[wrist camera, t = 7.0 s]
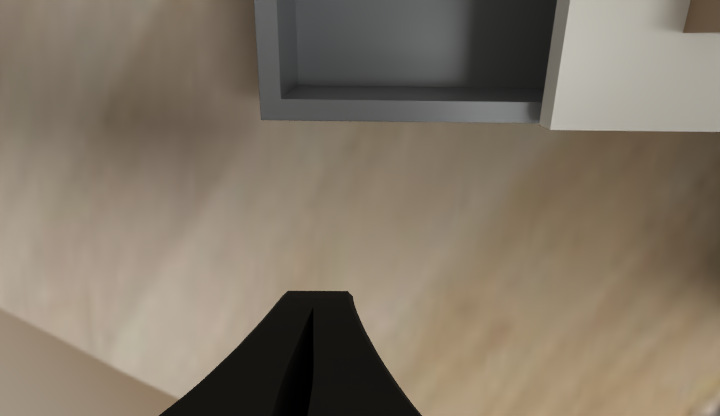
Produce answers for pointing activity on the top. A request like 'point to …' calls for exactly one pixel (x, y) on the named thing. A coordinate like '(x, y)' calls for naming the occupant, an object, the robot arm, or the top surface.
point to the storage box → (403, 59)
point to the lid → (634, 66)
